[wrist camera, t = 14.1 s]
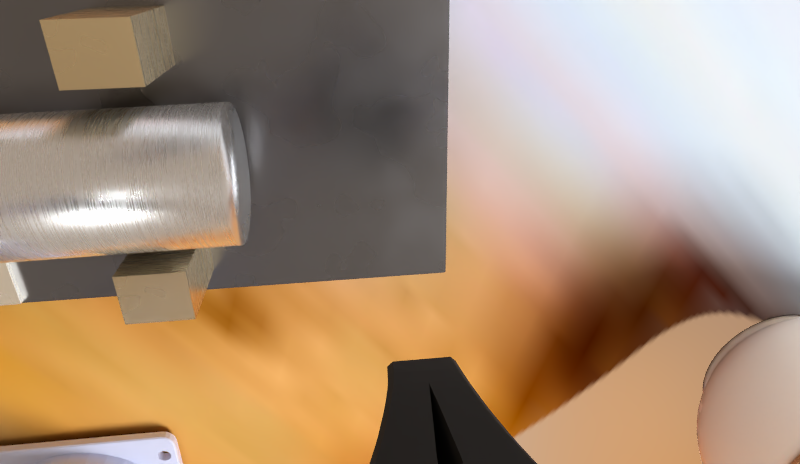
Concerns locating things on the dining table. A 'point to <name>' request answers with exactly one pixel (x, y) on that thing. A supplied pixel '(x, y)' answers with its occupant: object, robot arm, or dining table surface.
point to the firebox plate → (254, 133)
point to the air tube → (122, 181)
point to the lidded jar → (753, 397)
